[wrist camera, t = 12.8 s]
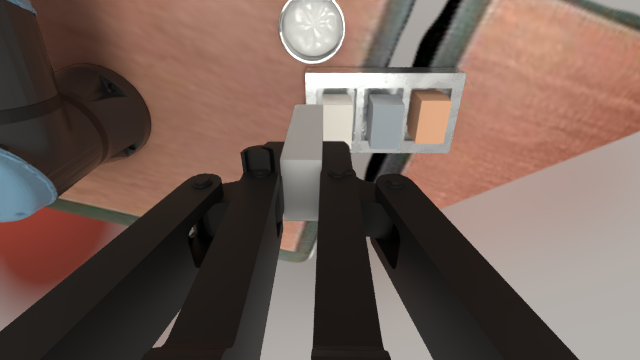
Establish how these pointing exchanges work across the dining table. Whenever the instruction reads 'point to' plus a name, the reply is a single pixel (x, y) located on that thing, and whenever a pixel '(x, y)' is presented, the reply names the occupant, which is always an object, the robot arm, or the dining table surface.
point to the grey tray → (387, 82)
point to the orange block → (428, 117)
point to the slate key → (384, 121)
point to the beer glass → (312, 29)
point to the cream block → (337, 117)
